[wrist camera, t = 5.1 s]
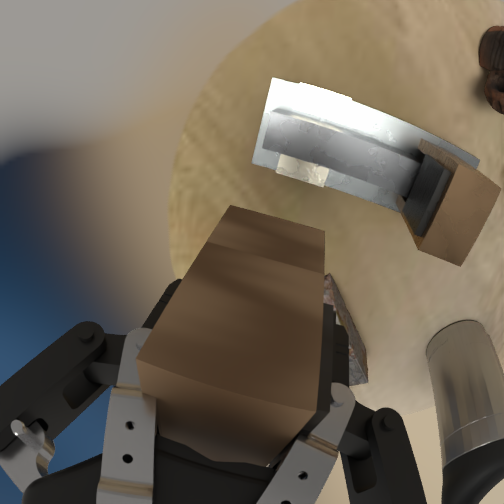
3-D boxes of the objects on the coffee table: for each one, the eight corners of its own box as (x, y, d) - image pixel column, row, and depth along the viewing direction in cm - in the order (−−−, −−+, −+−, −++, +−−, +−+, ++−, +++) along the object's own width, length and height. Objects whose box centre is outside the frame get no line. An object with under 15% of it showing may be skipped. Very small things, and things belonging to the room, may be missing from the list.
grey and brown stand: (477, 156, 22) (528, 191, 14) (443, 230, 26) (476, 285, 19) (274, 75, 23) (250, 72, 15) (252, 162, 28) (223, 199, 20)
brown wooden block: (212, 313, 16) (155, 447, 10) (230, 204, 13) (135, 358, 6) (295, 337, 16) (269, 480, 9) (338, 235, 12) (341, 416, 6)
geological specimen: (292, 399, 38) (231, 331, 32) (297, 364, 43) (245, 293, 37) (369, 386, 33) (328, 308, 27) (368, 348, 38) (329, 267, 32)
